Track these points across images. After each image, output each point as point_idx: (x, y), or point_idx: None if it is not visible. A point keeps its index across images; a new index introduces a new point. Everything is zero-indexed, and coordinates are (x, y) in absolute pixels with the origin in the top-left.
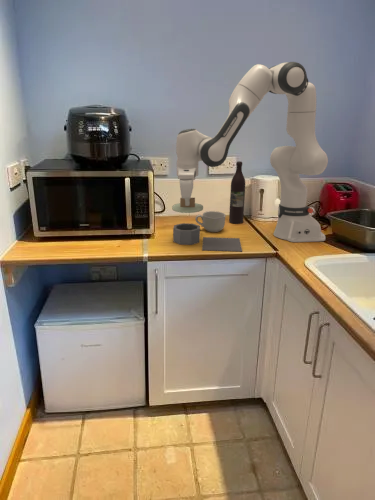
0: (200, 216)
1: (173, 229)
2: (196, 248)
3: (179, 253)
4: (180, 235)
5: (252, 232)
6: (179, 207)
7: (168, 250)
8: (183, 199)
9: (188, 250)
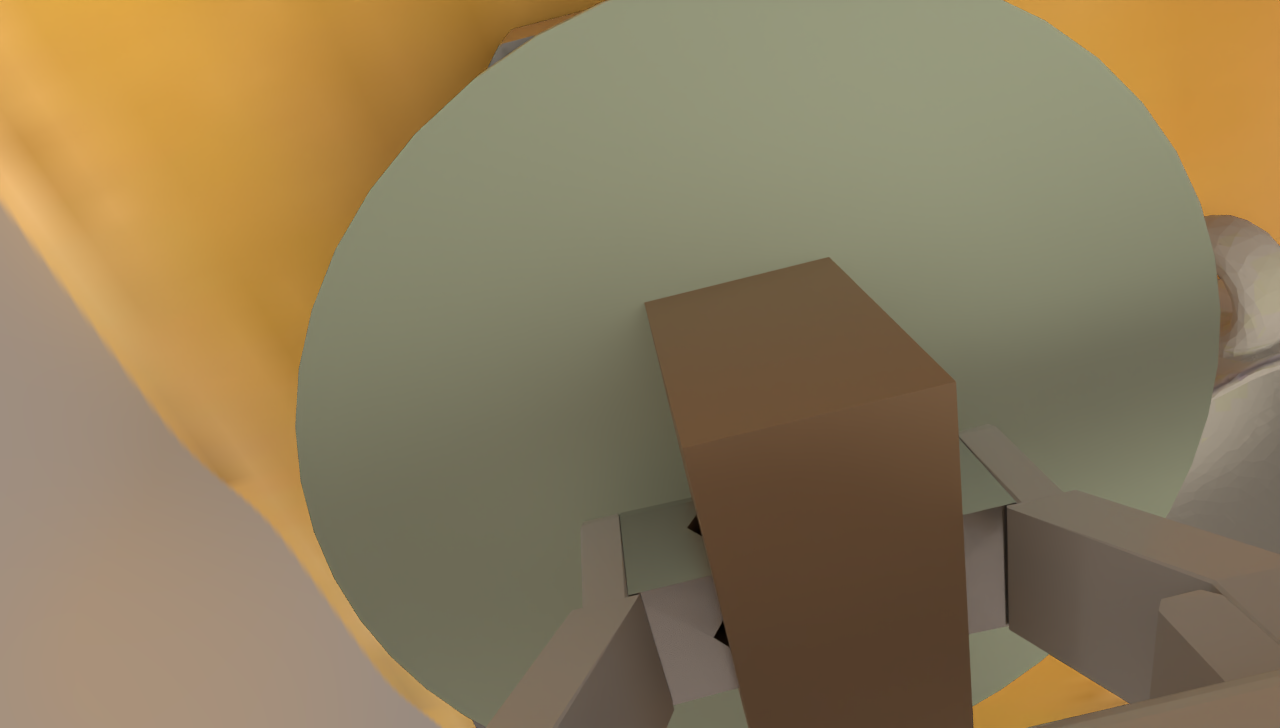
0: (1233, 324)
1: (499, 49)
2: None
3: (116, 274)
4: None
5: (1061, 708)
6: (590, 291)
7: (129, 94)
8: (706, 549)
9: (280, 339)
